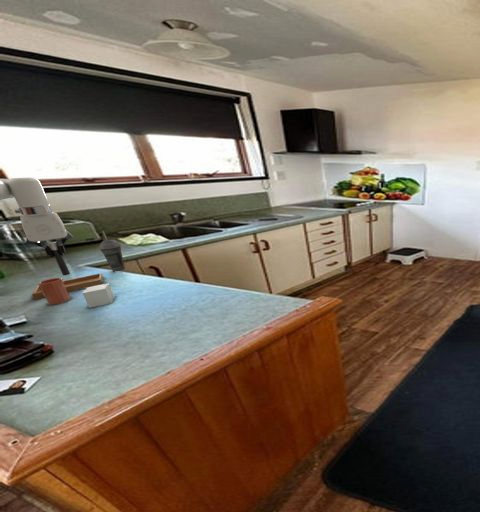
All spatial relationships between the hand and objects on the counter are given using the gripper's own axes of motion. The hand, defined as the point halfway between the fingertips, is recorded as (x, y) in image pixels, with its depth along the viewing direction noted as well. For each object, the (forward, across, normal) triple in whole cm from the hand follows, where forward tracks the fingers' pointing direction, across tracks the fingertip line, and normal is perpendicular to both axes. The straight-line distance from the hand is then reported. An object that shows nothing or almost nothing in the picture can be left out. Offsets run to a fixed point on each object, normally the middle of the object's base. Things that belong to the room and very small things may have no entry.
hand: (57, 255), depth 111 cm
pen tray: (+15, 0, 0) cm, 15 cm away
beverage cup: (+15, +15, +13) cm, 25 cm away
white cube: (+15, +10, -29) cm, 34 cm away
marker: (+9, 0, 0) cm, 9 cm away
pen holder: (+15, -2, -15) cm, 21 cm away
